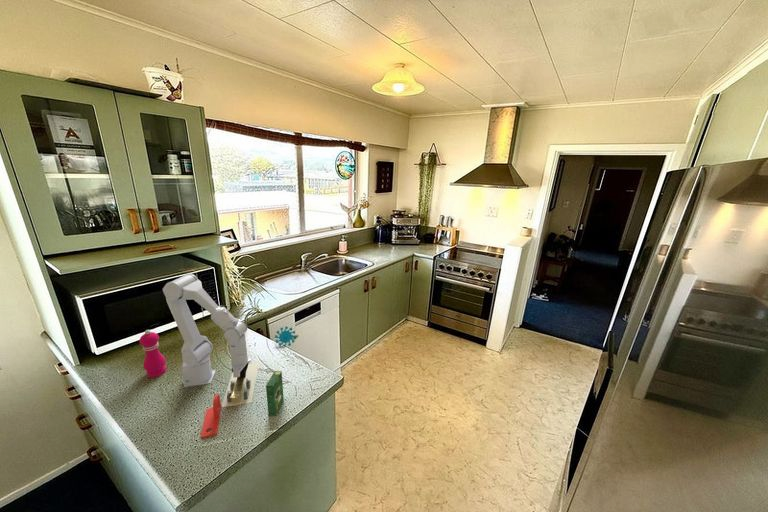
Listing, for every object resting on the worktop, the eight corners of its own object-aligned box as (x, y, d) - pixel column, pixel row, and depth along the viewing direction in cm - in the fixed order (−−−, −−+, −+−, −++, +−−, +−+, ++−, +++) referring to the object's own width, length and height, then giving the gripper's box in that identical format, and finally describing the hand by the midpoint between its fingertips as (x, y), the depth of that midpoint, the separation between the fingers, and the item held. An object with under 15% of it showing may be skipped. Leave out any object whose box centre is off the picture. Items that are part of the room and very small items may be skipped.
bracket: (207, 411, 103) (203, 393, 100) (221, 408, 104) (218, 390, 102) (200, 440, 92) (197, 420, 90) (217, 436, 94) (213, 416, 92)
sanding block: (232, 404, 106) (231, 397, 105) (237, 385, 115) (236, 378, 114) (240, 403, 106) (239, 396, 105) (245, 383, 115) (244, 377, 114)
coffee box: (276, 398, 109) (274, 369, 106) (284, 399, 109) (282, 370, 106) (267, 416, 102) (264, 385, 98) (275, 416, 102) (273, 386, 98)
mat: (221, 408, 104) (221, 407, 104) (234, 366, 125) (234, 366, 125) (251, 403, 107) (251, 402, 107) (259, 363, 128) (259, 362, 128)
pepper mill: (171, 370, 122) (162, 328, 116) (152, 380, 116) (141, 337, 110) (161, 364, 125) (152, 323, 119) (141, 374, 118) (131, 332, 112)
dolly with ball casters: (227, 402, 106) (226, 394, 105) (232, 386, 114) (231, 379, 113) (247, 399, 108) (246, 391, 107) (250, 384, 115) (250, 377, 114)
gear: (273, 346, 137) (276, 325, 142) (273, 349, 142) (276, 328, 147) (297, 346, 141) (299, 326, 145) (296, 349, 146) (298, 329, 150)
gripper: (246, 361, 106) (250, 391, 110) (252, 339, 120) (255, 367, 124) (225, 364, 104) (229, 394, 108) (233, 341, 118) (237, 369, 122)
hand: (242, 380), depth 116 cm, fingers closed
